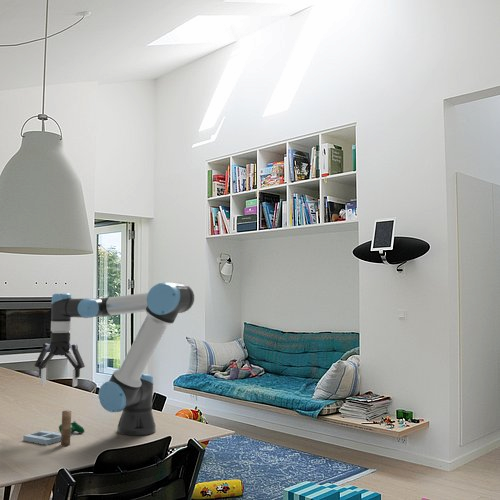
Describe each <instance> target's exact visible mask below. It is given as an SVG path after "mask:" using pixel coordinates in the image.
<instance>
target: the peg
mask: <svg viewBox="0 0 500 500" xmlns="http://www.w3.org/2000/svg"><path fill="white" fill-rule="evenodd" d="M71 423H72V410H62V411H61V424H62V429H61V432H60V433H61V441H60V446H61V445H62V446H61V447H67V446H68V445H69V446H71V436H70V433H71Z"/></svg>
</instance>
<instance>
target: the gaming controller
mask: <svg viewBox="0 0 500 500" xmlns="http://www.w3.org/2000/svg"><path fill="white" fill-rule="evenodd" d="M61 429H62V423H60V425H58V431H59V433H61ZM75 431H77V432H79V433H80V434H83V433H85V429H84V427H83V426H81V424H79V423H77V422H76V420H73V421H72V422H71V433H73V432H75Z"/></svg>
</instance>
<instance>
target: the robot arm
mask: <svg viewBox="0 0 500 500" xmlns="http://www.w3.org/2000/svg"><path fill="white" fill-rule="evenodd" d="M194 302H195V294H194V291H193V289H192V288H191V287H190V285H187V284H186V283H182V282H169V281H165V282H164V281H163V282H158V283H157V284H154V285H153V286H152V287H151V288H150V289H149V291H148V292H144V293H136V294H125V295H118V296H109V297H102V298H100V297H99V298H86V297H85V298H73V297H72V294H71V293H54V294H52V296H51V304H50V305H51V306H50V307H51V310H50V311H51V318H50V319H51V320H50V332H51V333H50V343H48V342H47V343H43V344H42V348H41V352H40V353H39V356H38V358H37V360H36V362H35V363H34V367H36V368H38V369H39V370H38V372H39V373H38V375H39V377H40V386H45V385H47V367H46V366H47V365H48V363H50V361H51V360H52V359H53V357H54V356H64V357H65V358H66V359H67V360H68V361H69V363H70V364H71V365H72V367H73V368H74V369H73V370H72V387H73V388H74V387H77V386H78V381H79V380H78V378H80V375H81V374H80V373H81V369H83V368H85V366H86V365H85V363H84V361H83V358H82V356H81V354H80V352H79V349H78V344H77V343H75V344H71V333H70V331H71V319H72V318H83V319H88V318H89V319H90V318H95V317H100V318H101V317H102V318H103V317H108V316H109V317H111V316H119V315H125V314H126V315H127V314H136V313H137V314H138V313H146V317H145V318H144V321H143V323H142V324H141V326H140V328H139V331H138V333H137V335H136V337H135V338H134V341H133V342H132V344H131V346H130V348H129V350H128V352H127V354H126V355H125V358H124V360H123V362H122V364H121V366H120V367H119V368H118V369H115V370H113V373H112V375H111V377H110V378H109V380H108V381H106V382H103V384H102V385H101V386H100V387H99V389H98V400H99V404H100V405H101V406H102V408H103V409H104V410H106V412H109V413H119V412H121V415H120V418H119V421H118V424H117V427H116V429H117V431H116V432H117V433H118V434H121V435H125V436H146V435H147V436H148V435H151V434H154V433H156V429H157V428H156V427H157V426H156V422H155V418H154V415H153V394H154V393H153V392H154V390H153V389H154V377H153V375H152V374H149V373H144V372H145V370H146V368H147V366H148V364H149V362H150V360H151V358H152V357H153V355H154V352H155V350H156V349H157V346H158V345H159V342H160V341H161V338H162V337H163V335H164V334H165V331H166V329H167V328H168V326H169V325H172V324H174V322H175V320H176V318H177V317H178V314H183V313H185V312H188V311H189V310H190V309H191V308H192V307H193V305H194V304H195V303H194ZM70 349H71V351H72V353H73V355H72V353H71V352H70ZM49 350H50V352H49V353H48V351H49ZM47 353H48V355H47ZM46 355H47V356H46Z"/></svg>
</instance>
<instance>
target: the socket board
mask: <svg viewBox="0 0 500 500" xmlns="http://www.w3.org/2000/svg"><path fill="white" fill-rule="evenodd" d="M22 437H23V440H22V441H23V442H29V443H33V442H34V443H35V444H38V443H39V444H38V445H43V444H45V445H44V446H49V445H48V444H50V445H52V444H51V443H53V444H56V443H55V442H57V443H60V442H61V432H56V431H48V430H40V431H37V432H33V433H29V434H25V435H23V436H22ZM59 441H60V442H59Z"/></svg>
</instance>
